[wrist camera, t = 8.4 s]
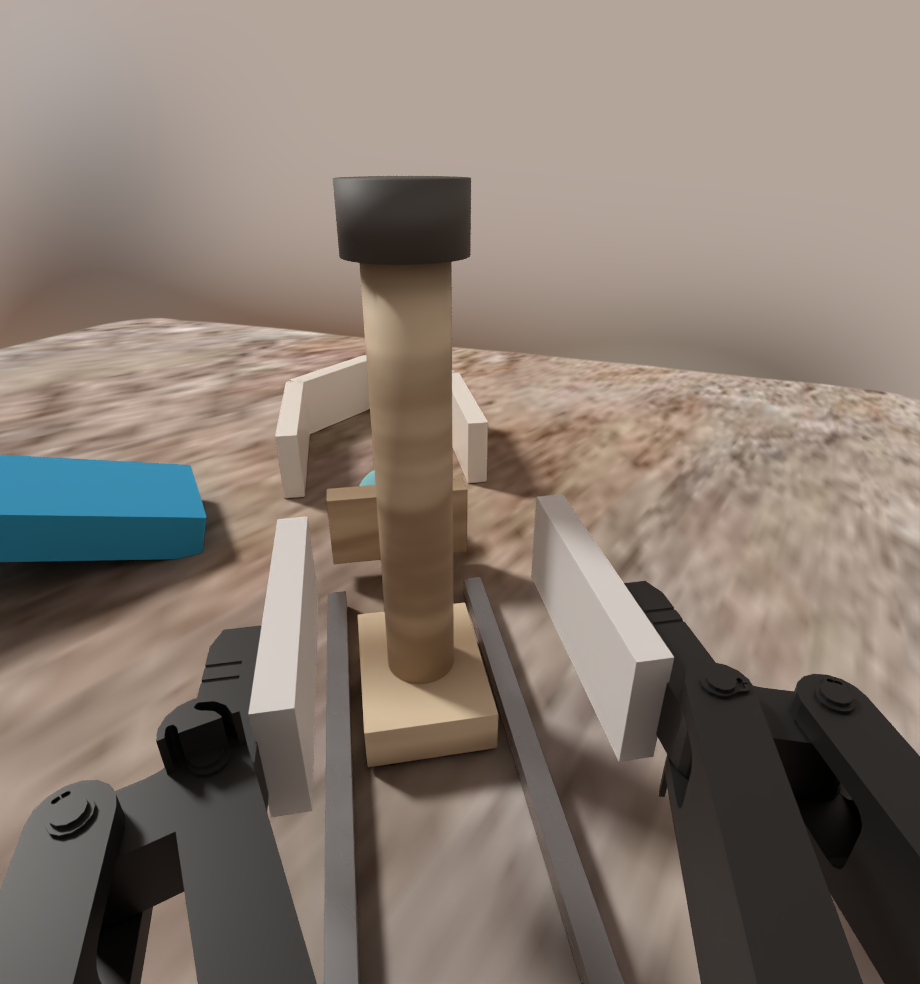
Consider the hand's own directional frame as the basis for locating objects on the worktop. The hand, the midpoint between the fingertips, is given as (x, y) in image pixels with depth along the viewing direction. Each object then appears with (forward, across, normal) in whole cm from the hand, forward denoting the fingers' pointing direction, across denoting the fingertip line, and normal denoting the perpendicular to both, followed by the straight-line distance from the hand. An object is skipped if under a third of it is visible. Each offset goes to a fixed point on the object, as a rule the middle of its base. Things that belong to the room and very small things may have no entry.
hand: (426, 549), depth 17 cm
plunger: (+6, 0, -8) cm, 10 cm away
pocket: (+28, 0, -8) cm, 29 cm away
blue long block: (+15, -20, -9) cm, 26 cm away
